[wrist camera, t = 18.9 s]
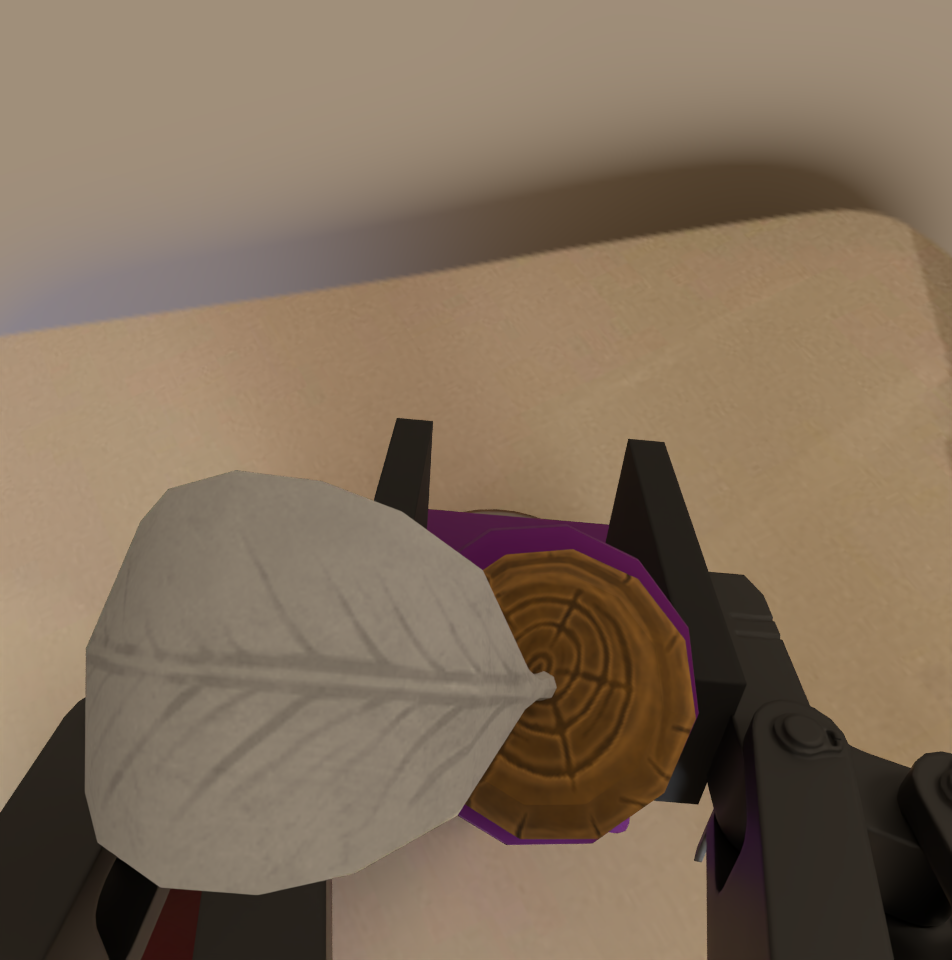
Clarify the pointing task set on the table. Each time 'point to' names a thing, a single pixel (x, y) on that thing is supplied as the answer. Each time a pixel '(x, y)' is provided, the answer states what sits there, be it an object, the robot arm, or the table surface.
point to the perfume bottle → (369, 684)
